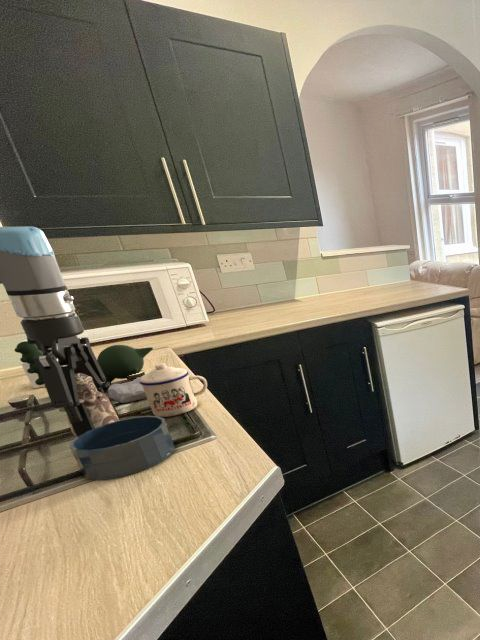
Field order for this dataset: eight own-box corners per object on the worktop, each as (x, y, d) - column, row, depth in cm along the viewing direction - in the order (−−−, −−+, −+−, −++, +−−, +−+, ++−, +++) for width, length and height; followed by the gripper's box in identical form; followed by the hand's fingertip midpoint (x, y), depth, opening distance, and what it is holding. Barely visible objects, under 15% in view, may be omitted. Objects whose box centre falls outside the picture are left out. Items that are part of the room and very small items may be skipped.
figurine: (79, 439, 81) (54, 382, 77) (67, 431, 85) (42, 375, 80) (125, 425, 87) (104, 371, 82) (112, 417, 90) (91, 365, 86)
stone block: (180, 395, 114) (161, 382, 118) (175, 380, 112) (156, 367, 116) (127, 413, 105) (108, 399, 109) (120, 397, 102) (102, 383, 106)
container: (74, 375, 127) (55, 333, 122) (71, 381, 121) (51, 338, 116) (38, 381, 122) (17, 338, 117) (33, 389, 116) (10, 344, 112)
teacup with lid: (152, 421, 95) (133, 374, 91) (152, 409, 102) (134, 364, 98) (214, 406, 102) (200, 361, 98) (210, 395, 109) (197, 353, 104)
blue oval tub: (67, 487, 72) (52, 457, 70) (104, 450, 84) (92, 423, 82) (161, 469, 77) (150, 441, 75) (183, 436, 89) (174, 410, 86)
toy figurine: (46, 409, 107) (165, 378, 120) (1, 340, 99) (133, 314, 112) (55, 398, 114) (166, 369, 127) (13, 332, 106) (136, 309, 119)
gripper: (43, 326, 70) (96, 445, 78) (100, 304, 87) (138, 404, 96) (-18, 330, 67) (43, 453, 76) (53, 307, 84) (96, 409, 93)
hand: (96, 425), depth 86 cm, fingers closed on figurine, 7 cm apart
